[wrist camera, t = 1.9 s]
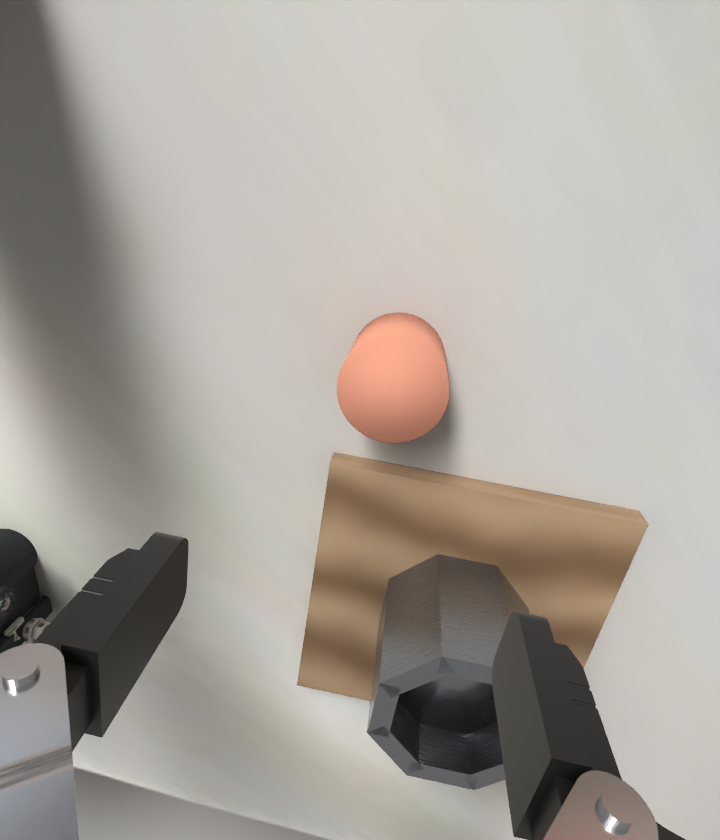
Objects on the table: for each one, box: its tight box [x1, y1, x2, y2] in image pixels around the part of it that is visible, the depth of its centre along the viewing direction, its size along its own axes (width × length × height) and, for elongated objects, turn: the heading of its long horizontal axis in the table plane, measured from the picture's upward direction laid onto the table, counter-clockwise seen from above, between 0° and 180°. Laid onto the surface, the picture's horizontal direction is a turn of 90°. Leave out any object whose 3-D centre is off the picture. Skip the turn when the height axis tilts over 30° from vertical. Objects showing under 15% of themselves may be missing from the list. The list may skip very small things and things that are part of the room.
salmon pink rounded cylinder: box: [337, 313, 450, 443], centre depth 28 cm, size 6×6×6 cm
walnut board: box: [297, 453, 648, 701], centre depth 37 cm, size 20×20×2 cm
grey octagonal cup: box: [367, 554, 529, 790], centre depth 32 cm, size 10×10×8 cm
